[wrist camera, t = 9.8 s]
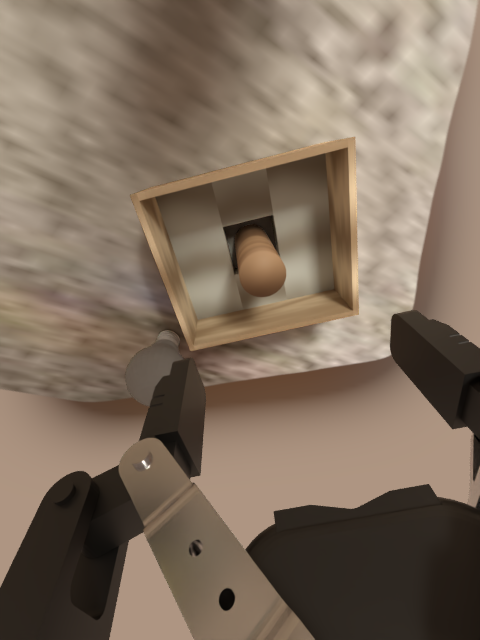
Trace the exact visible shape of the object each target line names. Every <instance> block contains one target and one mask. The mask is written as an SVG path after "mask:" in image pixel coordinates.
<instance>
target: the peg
mask: <svg viewBox="0 0 480 640" xmlns="http://www.w3.org/2000/svg"><path fill="white" fill-rule="evenodd" d="M234 242H235V250H236V257H237V264H238V271H239V278H240V283H241V285H242V287H243V289H244V290H245V291H246V292H247V293H249V294H250V295H253V296H256V297H267V296H271V295H273V294H275V293H276V292H278V291H279V290H280V289H281V287H282V286H283V284H284V282H285V280H286V267H285V265H284V263H283V261H282V260H281V258H280V256H279V255H278V253H277V251H276V249H275V248H274V246H273V244H272V243H271V241H270V239H269V238H268V236H267V234H266V233H265V231H264V230H263V229H262V228H261V227H260V226H257V225H254V224H249V225H245V226H243V227H242V228H240V229H239V230H238V232H237V233H236V236H235V241H234Z"/></svg>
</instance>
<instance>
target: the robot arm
mask: <svg viewBox="0 0 480 640" xmlns="http://www.w3.org/2000/svg"><path fill="white" fill-rule="evenodd" d="M390 350H391V354H392V357H393V359H394V360H395V362H396V363H397V364H398V366H399V367H400V368H401V369H402V370H403V371H404V373H405V374H406V375H407V376H408V377H409V378H410V380H411V381H412V382H413V383H414V384H415V385H416V387H417V388H418V389H419V390H420V391H421V393H422V394H423V395H424V396H425V397H426V398H427V400H428V401H429V402H430V403H431V404H432V406H433V407H434V408H435V409H436V410H437V411H438V413H439V414H440V415H441V416H442V417H443V419H444V420H445V421H446V422H447V423H448V424H449V426H450V427H451V428H452V429H456V428H462V427H467V426H468V428H469V429H470V430H471V431H472V435H471V452H470V490H469V498H468V503H467V504H465V503H462V502H458V501H455V500H451V499H446V498H441V497H437V496H436V494H435V493H434V491H433V490H432V488H431V487H430V485H429V484H427V485H421V486H415V487H409V488H404V489H398V490H392V491H389V492H387V493H385V494H383V495H381V496H379V497H377V498H375V499H373V500H371V501H369V502H368V503H366V504H364V505H362V506H360V507H358V508H355V509H346V508H336V507H326V506H316V505H307V506H302V507H296V508H290V509H284V510H279V511H274V517H275V524H274V525H272V526H270V527H268V528H267V529H266V530H264V531H263V532H261V533H260V534H259V535H258V536H257V537H256V538H255V539H254V540H253V541H252V542H251V543H250V544H249V546H248V547H247V548H246V550H245V549H244V548H243V546H242V545H241V544H240V542H239V541H238V540H237V538H236V537H235V536H234V534H233V533H232V532H231V530H230V529H229V528H228V526H227V525H226V524H225V522H224V521H223V520H222V518H221V517H220V516H219V515H218V513H217V512H216V511H215V509H214V508H213V507H212V505H211V504H210V503H209V501H208V500H207V499H206V497H205V496H204V495H203V493H202V492H201V491H200V490H199V488H198V487H197V486H196V484H195V483H192V482H191V481H190V477H195V476H200V473H201V459H202V445H203V431H204V417H205V404H206V403H205V402H206V396H205V389H204V386H203V383H202V380H201V378H200V375H199V373H198V370H197V367H196V365H195V362H194V360H193V359H192V358H187V359H183V360H178V361H174V362H173V363H172V367H171V371H170V375H167V376H163V377H162V378H161V380H160V381H159V382H158V384H157V385H156V386H155V389H154V392H153V396H152V399H151V402H150V408H149V409H148V413H147V416H146V419H145V423H144V426H143V430H142V433H141V436H140V439H139V441H138V442H137V443H135V444H134V445H133V446H131V447H130V448H129V449H128V450H127V451H126V452H125V454H124V455H123V457H122V459H121V461H120V464H119V465H118V466H116V467H114V468H112V469H110V470H108V471H106V472H104V473H102V474H100V475H98V476H96V477H94V478H91V477H90V476H89V474H87V473H86V472H84V471H77V472H73V473H70V474H68V475H66V476H65V477H63V478H62V479H60V480H59V481H58V482H56V483H55V484H54V485H53V486H52V487H51V488H50V490H49V491H48V492H47V493H46V495H45V496H44V498H43V500H42V502H41V504H40V506H39V508H38V510H37V512H36V514H35V517H34V519H33V521H32V523H31V525H30V527H29V529H28V531H27V533H26V535H25V538H24V539H23V541H22V544H21V546H20V548H19V550H18V552H17V554H16V556H15V558H14V560H13V562H12V564H11V566H10V569H9V571H8V573H7V575H6V577H5V579H4V581H3V583H2V586H1V587H0V640H109V637H110V632H111V627H112V622H113V617H114V612H115V607H116V602H117V597H118V592H119V587H120V582H121V577H122V572H123V566H124V562H125V557H126V552H127V546H128V542H129V540H130V539H132V538H134V537H135V536H137V535H139V534H141V533H143V532H144V534H145V536H146V538H147V541H148V543H149V545H150V547H151V549H152V551H153V553H154V556H155V558H156V560H157V562H158V564H159V566H160V568H161V571H162V573H163V575H164V577H165V579H166V581H167V583H168V585H169V588H170V590H171V591H172V594H173V596H174V598H175V600H176V602H177V604H178V606H179V609H180V611H181V613H182V615H183V617H184V619H185V621H186V623H187V626H188V628H189V630H190V632H191V634H192V636H193V638H194V640H480V348H478V347H477V346H476V345H474V344H473V343H472V342H469V340H468V339H466V338H465V337H464V336H462V335H459V333H458V332H457V331H455V330H454V329H453V328H451V327H450V326H449V325H447V324H444V323H441V322H439V321H436V320H433V319H432V320H428V319H427V318H426V317H425V316H423V315H422V314H421V313H419V312H418V311H417V310H411V311H407V312H402V313H398V314H394V315H393V316H392V319H391V338H390Z"/></svg>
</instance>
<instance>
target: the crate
mask: <svg viewBox="0 0 480 640" xmlns="http://www.w3.org/2000/svg"><path fill="white" fill-rule="evenodd" d="M130 197H131V200H132V202H133V205H134V207H135V210H136V213H137V215H138V218H139V220H140V223H141V225H142V228H143V231H144V233H145V236H146V238H147V241H148V244H149V246H150V249H151V251H152V254H153V256H154V259H155V262H156V264H157V267H158V269H159V272H160V275H161V277H162V280H163V282H164V285H165V287H166V290H167V293H168V295H169V298H170V300H171V303H172V305H173V308H174V311H175V313H176V316H177V318H178V321H179V324H180V326H181V329H182V331H183V334H184V336H185V339H186V342H187V344H188V347H189V349H190V351H194V350H198V349H203V348H208V347H212V346H217V345H221V344H226V343H230V342H235V341H240V340H244V339H249V338H253V337H258V336H262V335H267V334H272V333H276V332H281V331H285V330H290V329H294V328H299V327H304V326H308V325H313V324H317V323H322V322H326V321H331V320H336V319H340V318H345V317H349V316H354V315H358V314H359V303H358V252H357V201H356V150H355V137H351V138H346V139H340V140H335V141H330V142H324V143H320V144H316V145H312V146H308V147H305V148H301V149H297V150H293V151H289V152H285V153H281V154H278V155H274V156H270V157H266V158H262V159H258V160H255V161H251V162H247V163H243V164H239V165H235V166H231V167H228V168H224V169H220V170H216V171H212V172H208V173H204V174H201V175H197V176H193V177H189V178H185V179H181V180H177V181H174V182H170V183H166V184H162V185H158V186H154V187H151V188H148V189H145V190H143V191H140V192H137V193H134V194H132V195H130ZM270 215H271V219H272V225H273V231H274V238H275V244H276V250H277V253H278V255H279V256H280V258H281V260H282V261H283V263H284V265H285V267H286V280H285V282H284V284H283V286H282V287H281V289H280V290H279V291H278V292H276V293H275V294H273V295H271V296H267V297H256V296H253V295H250V294H249V293H247V292H246V291H245V290H244V289H243V287H242V285H241V283H240V278H239V271H238V267H237V268H234V267H233V263H232V259H231V255H230V250H229V246H228V242H227V238H226V234H225V230H224V227H225V226H229V225H233V224H238V223H242V222H246V221H250V220H254V219H258V218H262V217H266V216H270Z"/></svg>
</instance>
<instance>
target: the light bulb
mask: <svg viewBox="0 0 480 640" xmlns="http://www.w3.org/2000/svg"><path fill="white" fill-rule="evenodd" d="M179 343H180V338H179V336H178V335H177V334H176V333H175V332H173V331H169V330H166V331H162V332H161V333H159V335H158V337H157V340H156V342H155V343H153V344H152V346H150V347H147V348H145V349H142V350H141V351H139V352H138V353H137V354H136V355H135V356H134V357H133V358H132V359H131V361H130V362H129V364H128V366H127V369H126V373H125V381H126V385H127V389H128V391H129V392H130V394H131V396H132V397H133V398H134V399H135V400H137V401H138V402H139V403H141V404H143V405H146V406H150V402H151V399H152V396H153V392H154V389H155V386H156V385H157V384H158V382H159V381H160V380H161V378H162V377H163V376H167V375H170V371H171V367H172V363H173V362H174V361H178V360H183V357H182V356H181V355H180V352H179V348H178V347H179Z"/></svg>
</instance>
